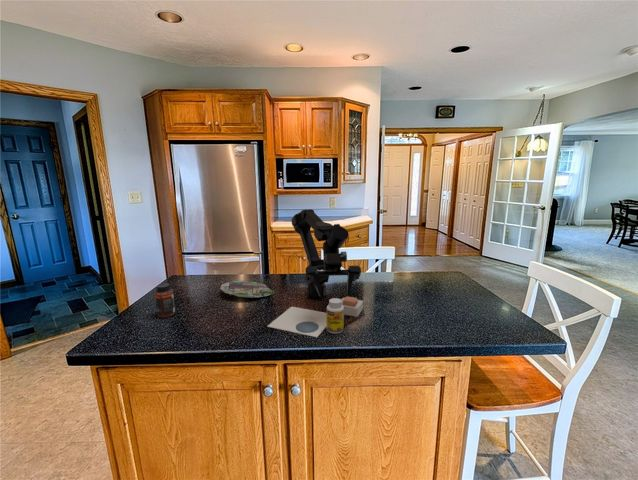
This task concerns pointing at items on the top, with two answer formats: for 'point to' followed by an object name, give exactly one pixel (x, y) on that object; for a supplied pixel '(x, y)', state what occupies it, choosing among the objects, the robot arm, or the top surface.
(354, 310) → the button housing
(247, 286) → the city model
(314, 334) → the drawing paper
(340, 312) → the supplement bottle
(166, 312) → the supplement bottle
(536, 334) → the top surface
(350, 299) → the button
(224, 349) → the top surface
